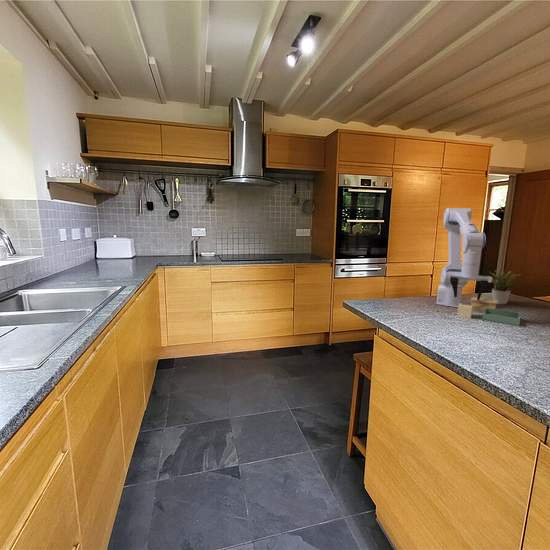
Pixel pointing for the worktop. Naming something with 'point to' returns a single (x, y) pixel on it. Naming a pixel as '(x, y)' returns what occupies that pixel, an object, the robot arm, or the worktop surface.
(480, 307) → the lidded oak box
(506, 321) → the tray
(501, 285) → the house plant
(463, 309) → the sandstone cube
